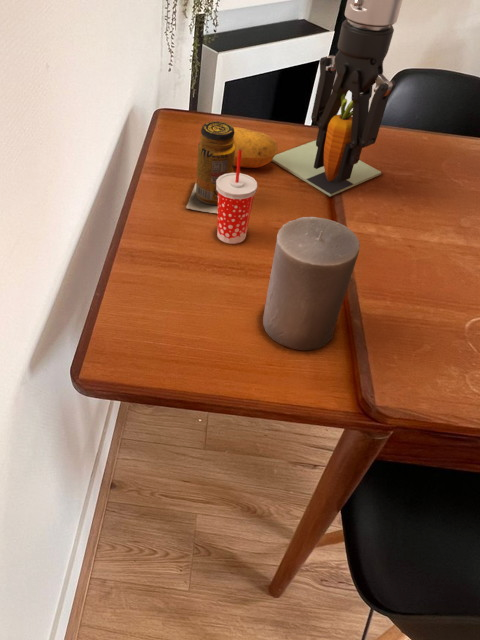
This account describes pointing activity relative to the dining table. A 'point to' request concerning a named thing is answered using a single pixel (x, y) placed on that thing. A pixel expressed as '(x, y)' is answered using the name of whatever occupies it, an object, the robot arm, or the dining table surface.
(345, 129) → the carrot
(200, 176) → the condiment
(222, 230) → the beverage cup
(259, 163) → the potato
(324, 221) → the pillar candle
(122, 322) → the dining table surface
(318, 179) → the corner mat
